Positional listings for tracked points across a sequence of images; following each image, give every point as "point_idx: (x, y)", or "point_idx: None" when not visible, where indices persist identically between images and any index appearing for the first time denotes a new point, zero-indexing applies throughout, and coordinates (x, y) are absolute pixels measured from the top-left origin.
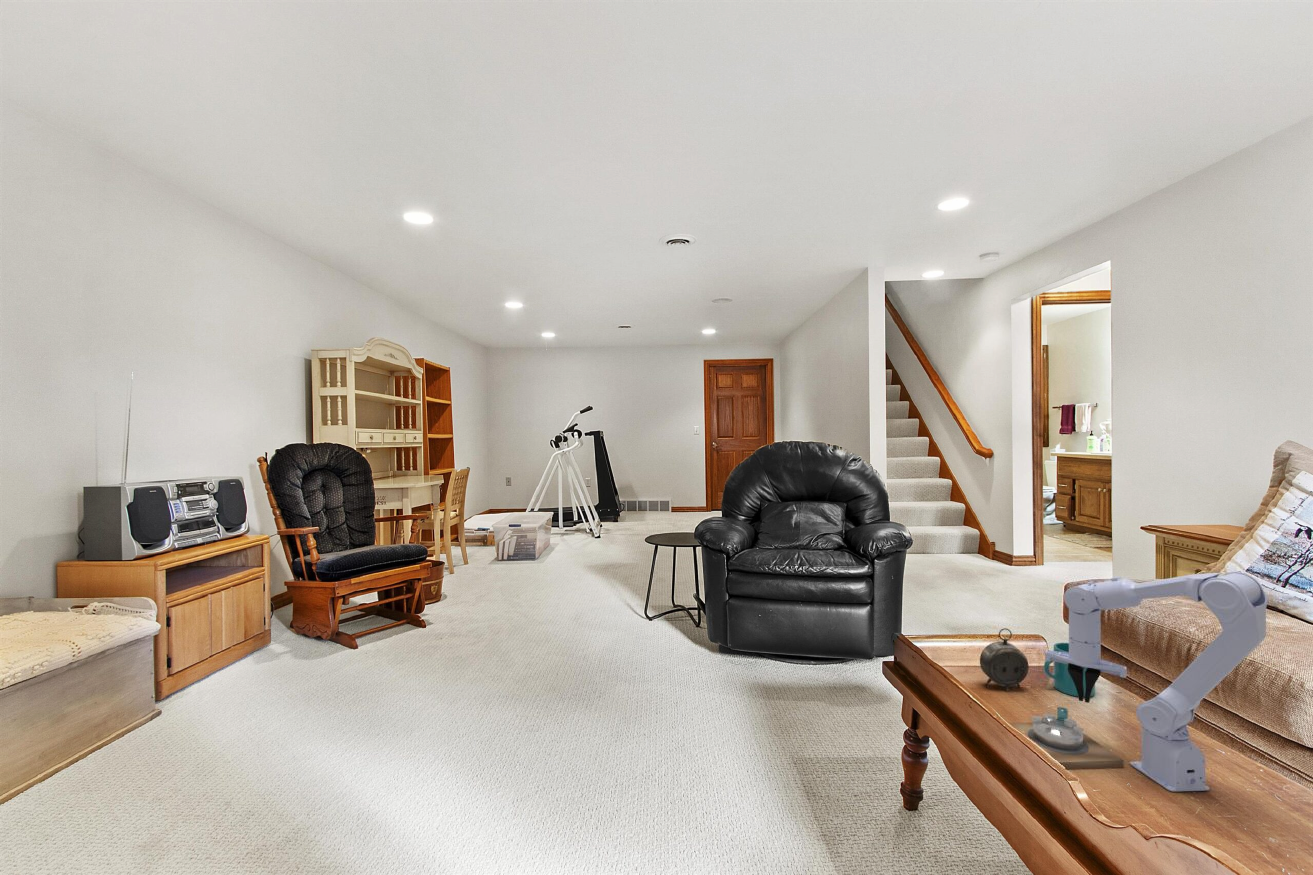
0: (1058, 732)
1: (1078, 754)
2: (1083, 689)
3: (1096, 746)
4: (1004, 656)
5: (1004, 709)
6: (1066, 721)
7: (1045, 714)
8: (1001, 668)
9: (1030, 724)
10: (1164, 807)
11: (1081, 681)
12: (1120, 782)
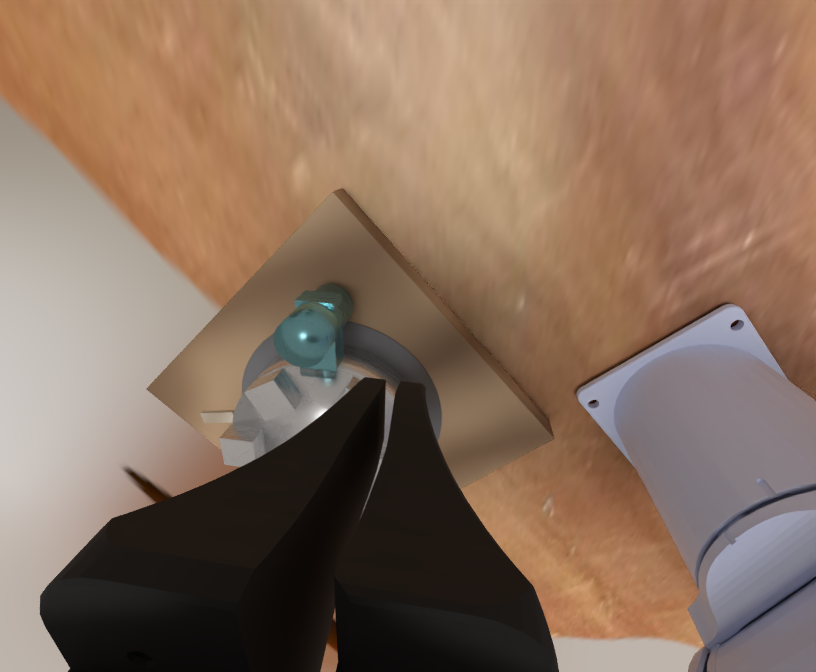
0: None
1: None
2: (367, 422)
3: (467, 382)
4: None
5: (80, 153)
6: None
7: (251, 398)
8: None
9: (226, 330)
10: (620, 568)
11: (333, 583)
12: (527, 507)
